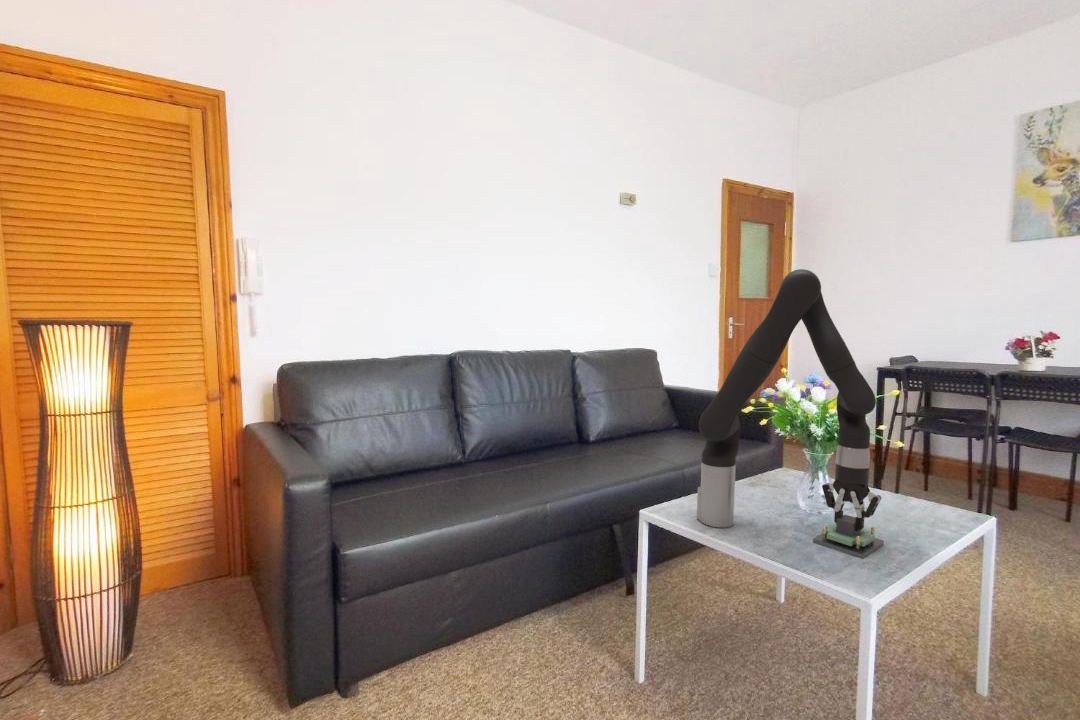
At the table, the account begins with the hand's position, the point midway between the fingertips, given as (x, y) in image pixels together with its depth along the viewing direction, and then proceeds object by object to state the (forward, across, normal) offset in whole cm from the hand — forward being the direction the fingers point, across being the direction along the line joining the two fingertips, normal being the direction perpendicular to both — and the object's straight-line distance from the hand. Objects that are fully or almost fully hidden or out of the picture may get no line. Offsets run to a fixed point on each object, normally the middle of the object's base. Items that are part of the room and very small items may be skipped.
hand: (848, 527), depth 142 cm
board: (+2, 0, 0) cm, 2 cm away
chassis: (+4, 0, 0) cm, 4 cm away
